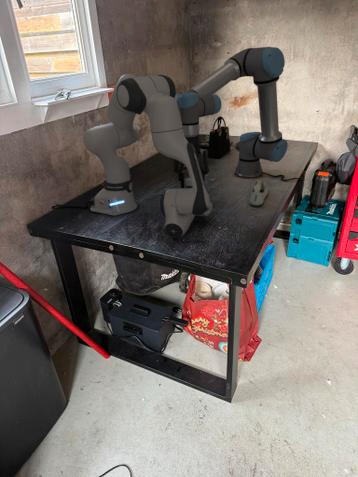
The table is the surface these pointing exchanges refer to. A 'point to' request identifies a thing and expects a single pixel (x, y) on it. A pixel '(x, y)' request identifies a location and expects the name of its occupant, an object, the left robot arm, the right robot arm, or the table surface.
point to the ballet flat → (258, 193)
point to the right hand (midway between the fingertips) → (191, 188)
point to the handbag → (219, 140)
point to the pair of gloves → (205, 143)
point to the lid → (188, 182)
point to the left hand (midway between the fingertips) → (192, 199)
